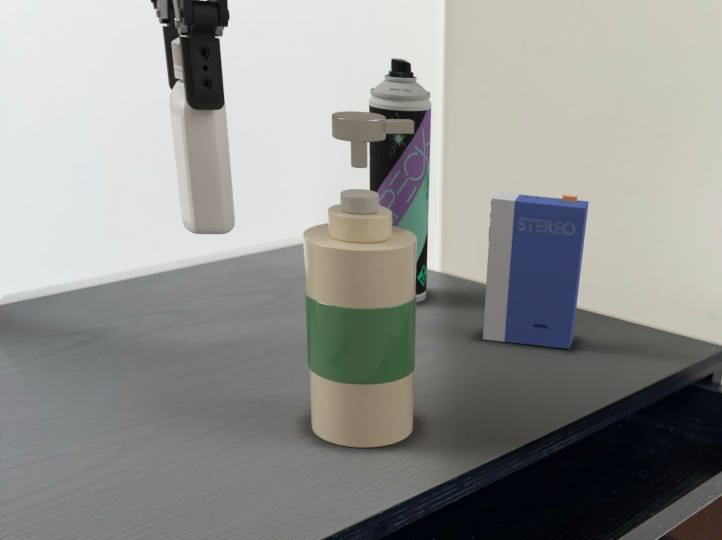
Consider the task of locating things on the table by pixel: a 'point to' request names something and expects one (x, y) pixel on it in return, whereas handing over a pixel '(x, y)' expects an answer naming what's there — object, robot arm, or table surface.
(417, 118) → the spray can
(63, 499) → the table surface
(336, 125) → the pump
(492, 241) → the walkman
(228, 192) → the eye dropper bottle
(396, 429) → the soap bottle
